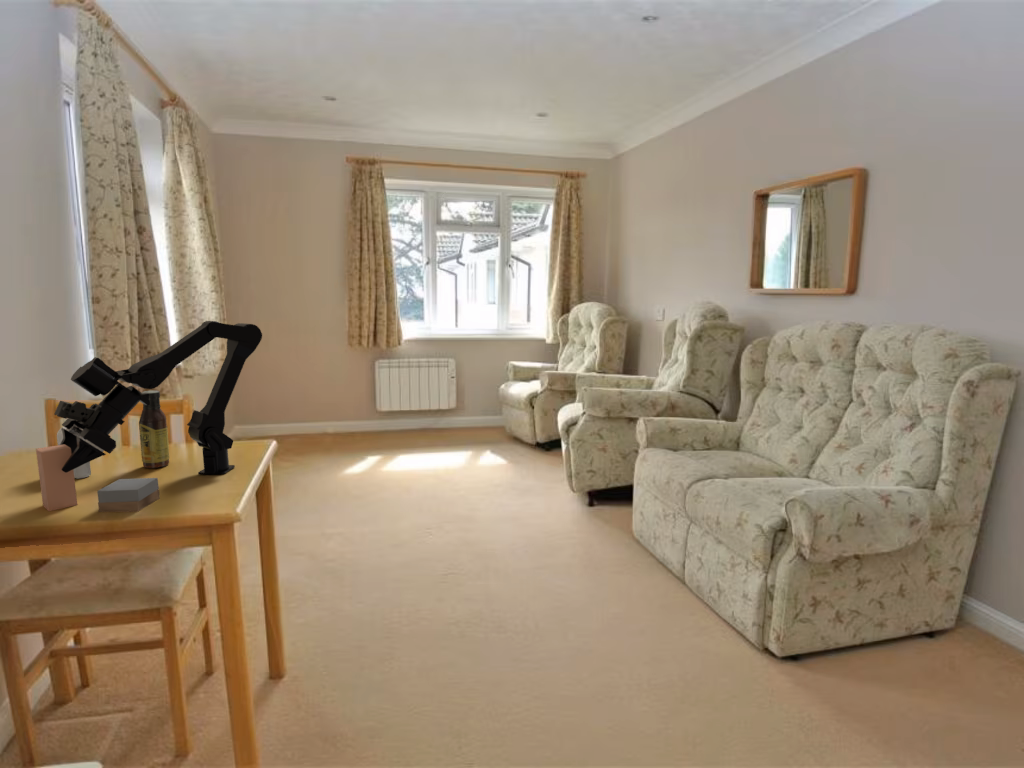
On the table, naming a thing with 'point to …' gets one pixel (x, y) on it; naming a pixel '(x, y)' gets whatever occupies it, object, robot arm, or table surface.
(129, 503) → the walnut slab
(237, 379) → the robot arm
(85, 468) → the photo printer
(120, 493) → the slate slab
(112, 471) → the table surface
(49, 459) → the terracotta pillar
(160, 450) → the sauce bottle
